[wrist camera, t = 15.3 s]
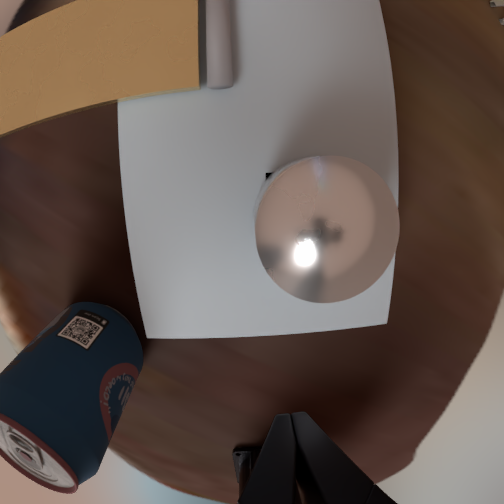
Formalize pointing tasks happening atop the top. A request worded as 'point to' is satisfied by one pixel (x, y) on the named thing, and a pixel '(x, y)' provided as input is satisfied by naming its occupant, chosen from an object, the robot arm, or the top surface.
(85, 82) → the plate
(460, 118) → the top surface
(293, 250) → the steel pin
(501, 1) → the caliper
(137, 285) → the block
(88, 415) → the soda can
